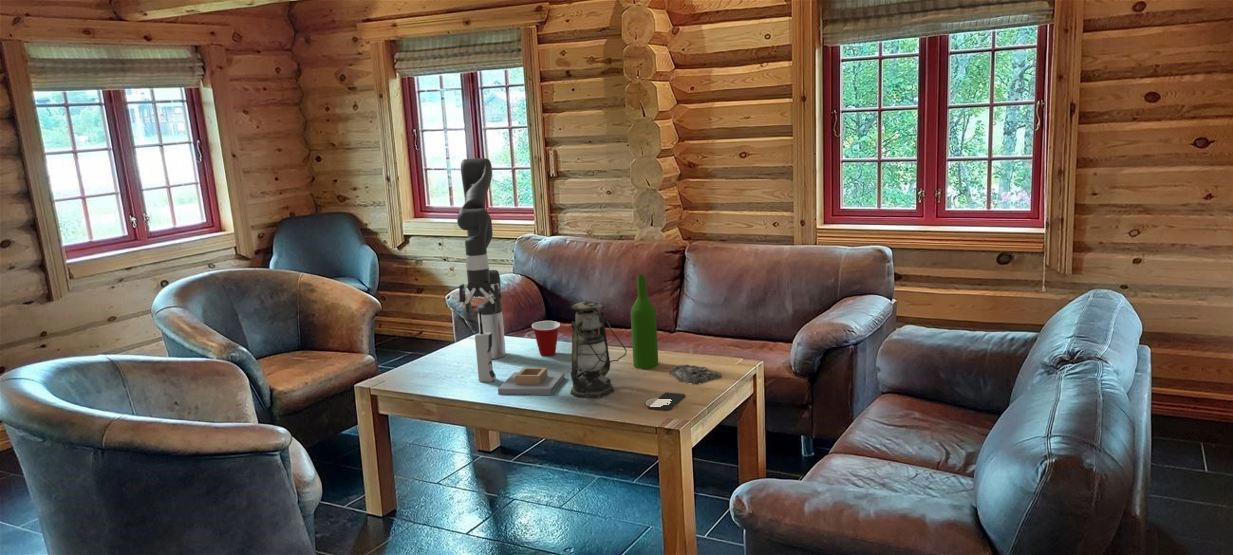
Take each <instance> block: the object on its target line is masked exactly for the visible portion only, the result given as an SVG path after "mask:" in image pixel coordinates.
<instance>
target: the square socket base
mask: <svg viewBox="0 0 1233 555" xmlns="http://www.w3.org/2000/svg"><path fill="white" fill-rule="evenodd" d="M565 379H566V378H565V371H563V372H561V371H560V372H559V371H557V372H556V371H555V372H554V371H553V372H548V367H523V368H521V370H519V372H518V371H517V372H516V371H515V372H513V373H512V374H511V375H510V376H509V377H508V378H507V379H506V380H505V381H504V382H503V383H502V384H501V385H500V386H499V387H498V388H497V394H498V395H513V394H517V395H518V394H520V395H519V396H522V395H521V394H523V395H524V394H526V395H528V394H529V395H530V396H531V395H532V396H533V395H535V396H536V395H537V396H542V395H543V396H544V395H545V396H551V395H553V393H554V392H555V391H556V389H557V388H558V387H559V386H560V385H561V384H562V382H563V381H564V380H565ZM554 390H555V391H554ZM529 395H528V396H529Z"/></svg>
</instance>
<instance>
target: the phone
mask: <svg viewBox="0 0 1233 555" xmlns="http://www.w3.org/2000/svg"><path fill="white" fill-rule="evenodd" d="M684 398H686V394H685V393H679V392H678V393H677V392H667V391H666V392H664V393H662V394H661V395H660V396H659V397H658V398H657V399H671V400H672V401H670V402H671V403H670V404H669V405H663V406H661V407H650V405H648V407H647V408H648V410H652V409H653V411H662V410H663V411H664V412H669V410H670V411H671V410H672V409H674V408H675V407H676V406H677V405H678V404H679V403H680V402H682V400H684ZM667 404H668V403H667ZM674 406H675V407H674ZM673 407H674V408H673ZM654 409H655V410H654Z"/></svg>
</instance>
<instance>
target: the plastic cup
mask: <svg viewBox="0 0 1233 555" xmlns="http://www.w3.org/2000/svg"><path fill="white" fill-rule="evenodd" d="M560 326H561V323H560V322H558V321H556V320H555V321H553V320H542V321H536V322H533V323H532V324H531V328H532V329H533V330H532V331H533V333H534V336H535V340H536V344H537V347H538V352H539V355H540V356H541V357H551V356H555V355H556V353H557V343H558V334H559V328H560Z"/></svg>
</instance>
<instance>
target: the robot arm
mask: <svg viewBox="0 0 1233 555" xmlns="http://www.w3.org/2000/svg"><path fill="white" fill-rule="evenodd" d="M460 175H461V181H462V189H463V194H464V195H463V196H464V204H463V205H462V206H461V208H460V210H458V214H457V218H456V220H457V221H456V222H457V225H458V227H459V229H461V230H463V231H467V232H466V233H467V238H466V239H465V242H464V247H465V258H466V259H465V267H466V276H467V277H466V278H467V284H465V283H462V284H460V285H459V286H458V292H459V293H458V294H459V302H460V303H462V304H463V303H464V305H465V312H466V313H467V314H468V315H473V307H472V302H471V301H472V300H473V298H479V297H480V298H484V297H485V298H486V299H487V300H486V301H484V302H482V303H480V304H478V305H477V308H476V309H477V321H478V329H479V330H478V331H479V332H478V333H480V317H479V311H481V320H482V327H483V333H492V347H491V357H492V360H495V359H500V358H504V357H505V356H506V355H507V354H506V353H507V352H506V342H505V340H506V339H505V331H504V330H505V328H504V320H503V318H504V317H503V316H504V315H503V307H502V293H501V290H502V289H501V288H502V287H501V275H500V272H499V271H498V270H497V269H490V266H489V265H490V264H489V257H488V251H487V249H488V247H489V245H490V243H491V242H492V239H493V225H492V224H493V223H492V217H491V215H490V214H489V212H488V211H487V209H486V198H487V195H488V194H487V193H488V191H489V190H490V186H491V183H492V178H493V167H492V162H491V161H490V159H489V158H485V157H482V158H465V159H462V161H461V162H460ZM467 290H468V291H469V293H468V295H467V297H466V291H467Z"/></svg>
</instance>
